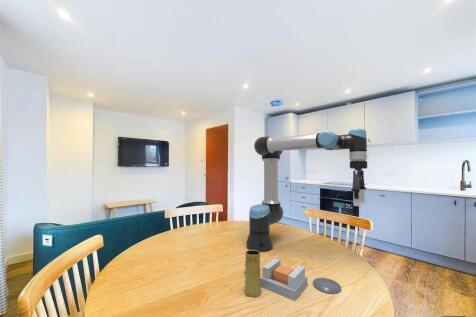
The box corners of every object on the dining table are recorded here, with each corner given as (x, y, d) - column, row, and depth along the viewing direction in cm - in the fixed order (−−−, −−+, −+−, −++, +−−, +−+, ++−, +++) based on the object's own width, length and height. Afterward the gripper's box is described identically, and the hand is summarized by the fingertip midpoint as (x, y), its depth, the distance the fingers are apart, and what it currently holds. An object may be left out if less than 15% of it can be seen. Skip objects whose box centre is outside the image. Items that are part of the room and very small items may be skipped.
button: (273, 279, 80) (273, 270, 80) (280, 273, 84) (280, 265, 84) (287, 284, 76) (287, 274, 76) (293, 278, 80) (293, 269, 81)
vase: (263, 295, 74) (263, 254, 74) (247, 298, 72) (247, 256, 73) (257, 286, 79) (257, 248, 80) (242, 288, 78) (242, 250, 78)
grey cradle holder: (260, 286, 80) (260, 267, 80) (275, 273, 89) (275, 257, 89) (294, 300, 71) (294, 279, 71) (307, 285, 80) (307, 266, 81)
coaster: (309, 287, 79) (309, 285, 79) (317, 276, 87) (317, 275, 87) (337, 297, 73) (337, 295, 73) (343, 285, 80) (343, 283, 80)
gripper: (363, 159, 90) (364, 208, 89) (370, 161, 110) (371, 201, 108) (344, 159, 95) (345, 206, 94) (354, 161, 114) (355, 200, 113)
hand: (359, 204), depth 101 cm, fingers open, 13 cm apart
